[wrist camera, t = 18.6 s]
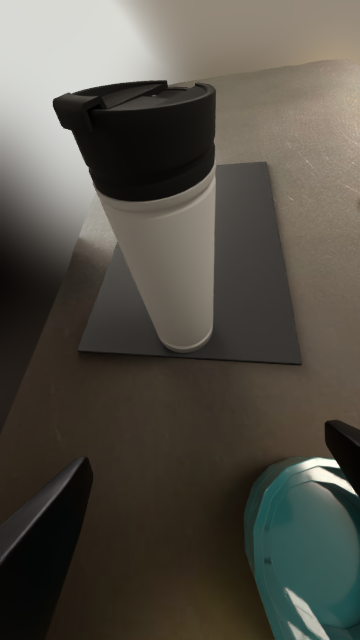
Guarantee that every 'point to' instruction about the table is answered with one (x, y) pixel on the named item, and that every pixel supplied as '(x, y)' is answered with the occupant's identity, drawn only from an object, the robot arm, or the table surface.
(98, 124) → the travel mug
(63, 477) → the robot arm
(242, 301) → the mat
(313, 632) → the bowl
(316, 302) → the table surface
